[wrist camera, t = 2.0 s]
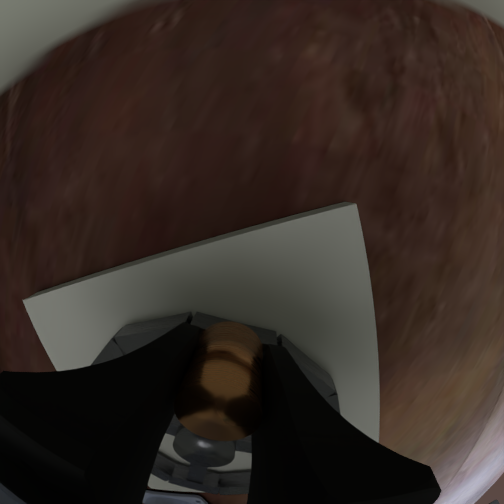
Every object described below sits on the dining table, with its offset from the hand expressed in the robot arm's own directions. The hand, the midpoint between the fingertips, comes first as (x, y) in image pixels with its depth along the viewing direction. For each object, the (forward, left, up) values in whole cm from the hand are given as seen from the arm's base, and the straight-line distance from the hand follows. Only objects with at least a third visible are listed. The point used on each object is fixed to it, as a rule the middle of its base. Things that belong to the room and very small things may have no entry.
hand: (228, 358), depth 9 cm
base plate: (-5, +3, -4) cm, 7 cm away
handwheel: (-5, +3, -2) cm, 6 cm away
